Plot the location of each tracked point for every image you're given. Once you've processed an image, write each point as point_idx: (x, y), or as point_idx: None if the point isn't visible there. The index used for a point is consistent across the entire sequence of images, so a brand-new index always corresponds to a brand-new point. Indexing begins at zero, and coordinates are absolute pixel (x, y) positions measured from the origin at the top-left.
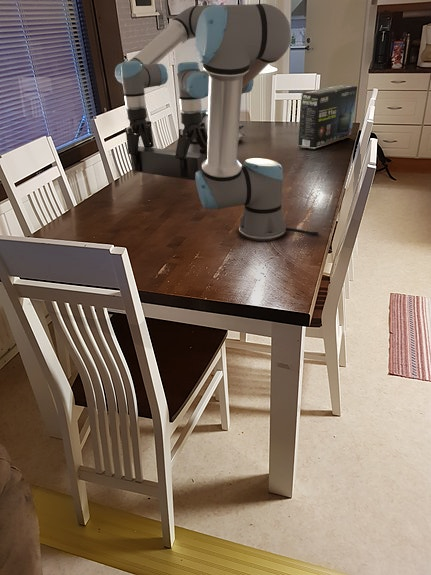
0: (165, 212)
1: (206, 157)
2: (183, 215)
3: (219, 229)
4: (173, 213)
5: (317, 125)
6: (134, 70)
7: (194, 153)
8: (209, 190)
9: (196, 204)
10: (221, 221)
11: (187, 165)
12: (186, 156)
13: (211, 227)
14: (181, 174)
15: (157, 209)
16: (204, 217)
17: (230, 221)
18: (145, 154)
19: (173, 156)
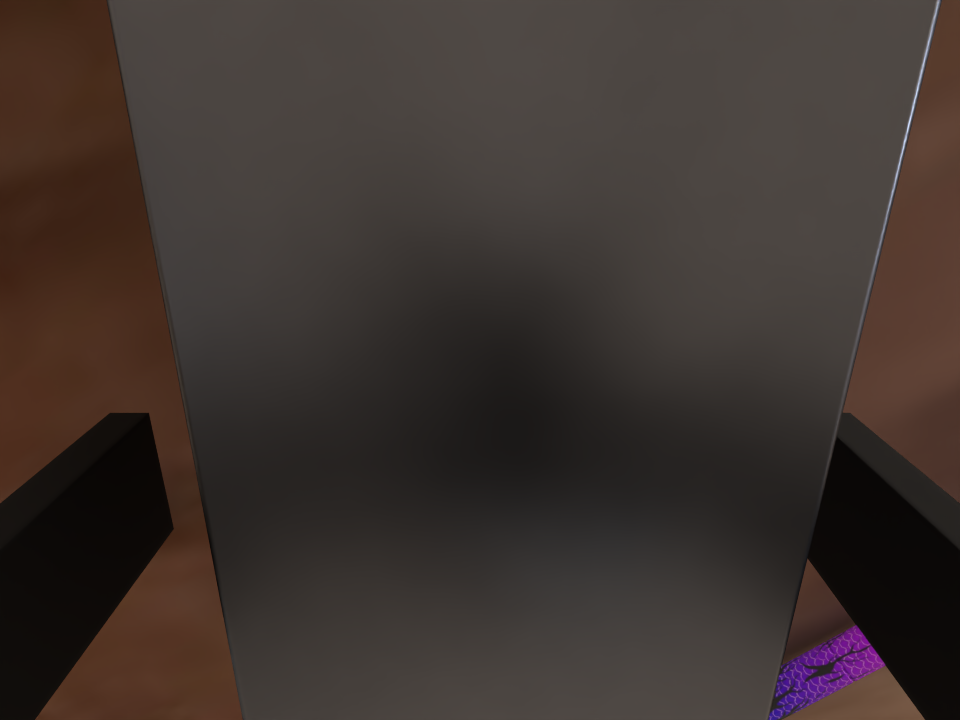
0: (58, 185)
1: (905, 676)
2: (117, 386)
3: (90, 711)
4: (92, 276)
5: None
6: None
7: (672, 699)
8: None
9: None
10: (206, 671)
11: (37, 701)
12: (243, 650)
13: (80, 662)
14: (90, 442)
15: (60, 41)
16: (192, 549)
17: (241, 713)
18: None
19: (147, 44)
